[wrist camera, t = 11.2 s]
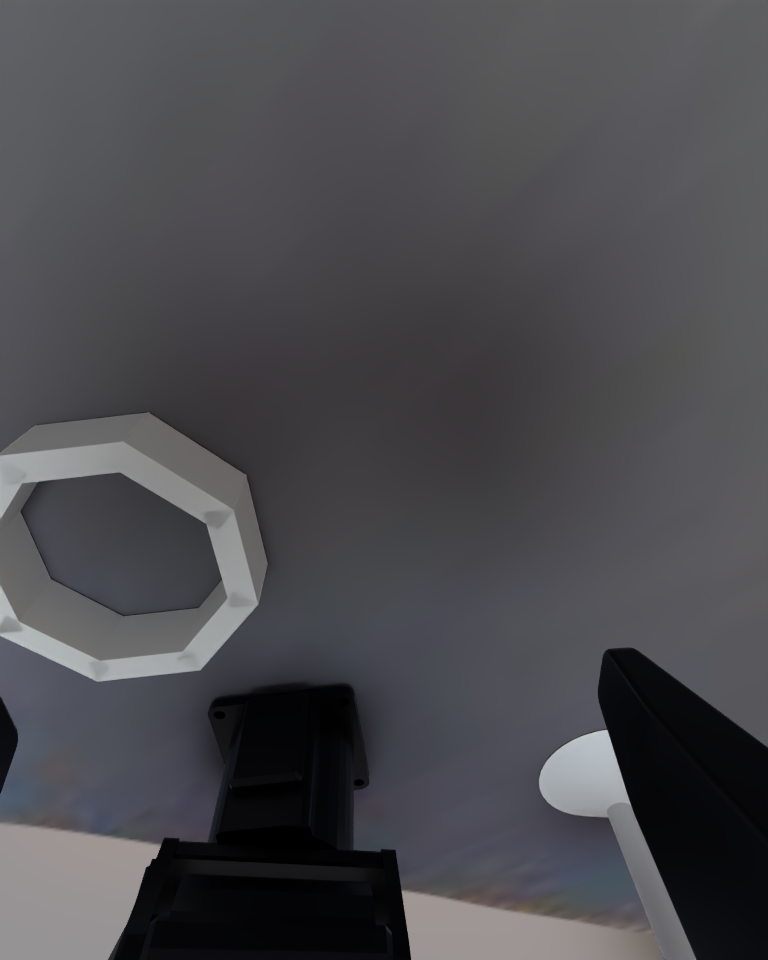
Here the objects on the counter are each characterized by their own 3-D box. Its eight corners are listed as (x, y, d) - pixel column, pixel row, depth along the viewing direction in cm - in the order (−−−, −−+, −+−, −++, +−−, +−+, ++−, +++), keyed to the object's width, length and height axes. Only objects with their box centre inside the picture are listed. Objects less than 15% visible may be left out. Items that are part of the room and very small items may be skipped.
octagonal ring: (281, 618, 25) (273, 662, 22) (54, 643, 25) (25, 690, 23) (229, 402, 20) (213, 430, 18) (-46, 434, 20) (-95, 465, 18)
